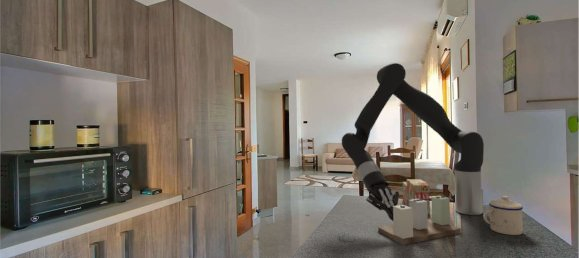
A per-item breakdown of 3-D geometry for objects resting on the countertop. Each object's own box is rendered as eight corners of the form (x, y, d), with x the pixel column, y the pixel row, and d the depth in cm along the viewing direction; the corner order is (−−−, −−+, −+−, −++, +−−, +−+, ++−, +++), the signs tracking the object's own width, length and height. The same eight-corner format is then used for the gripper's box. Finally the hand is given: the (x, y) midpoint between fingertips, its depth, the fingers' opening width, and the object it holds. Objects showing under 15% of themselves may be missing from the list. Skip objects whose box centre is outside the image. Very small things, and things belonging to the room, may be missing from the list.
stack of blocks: (402, 200, 136) (401, 175, 136) (416, 201, 135) (415, 175, 135) (414, 214, 115) (413, 184, 115) (430, 214, 114) (429, 184, 114)
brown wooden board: (431, 221, 106) (431, 217, 106) (460, 232, 94) (460, 228, 94) (378, 231, 97) (378, 227, 97) (403, 244, 86) (403, 239, 86)
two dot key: (440, 220, 102) (439, 194, 102) (450, 223, 98) (449, 197, 98) (431, 221, 100) (431, 195, 100) (441, 225, 97) (440, 198, 97)
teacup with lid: (508, 225, 100) (507, 192, 100) (530, 235, 91) (530, 199, 91) (475, 226, 100) (474, 193, 100) (494, 236, 91) (493, 200, 91)
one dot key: (403, 232, 91) (403, 203, 91) (413, 236, 88) (412, 207, 88) (393, 234, 90) (393, 205, 90) (402, 238, 86) (402, 208, 86)
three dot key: (418, 224, 98) (418, 197, 98) (427, 228, 95) (427, 200, 95) (409, 225, 97) (409, 199, 97) (418, 229, 93) (417, 201, 93)
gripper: (360, 171, 99) (384, 216, 87) (391, 168, 103) (417, 211, 92) (352, 184, 104) (373, 227, 92) (382, 180, 108) (406, 222, 97)
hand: (395, 219), depth 92 cm, fingers closed
